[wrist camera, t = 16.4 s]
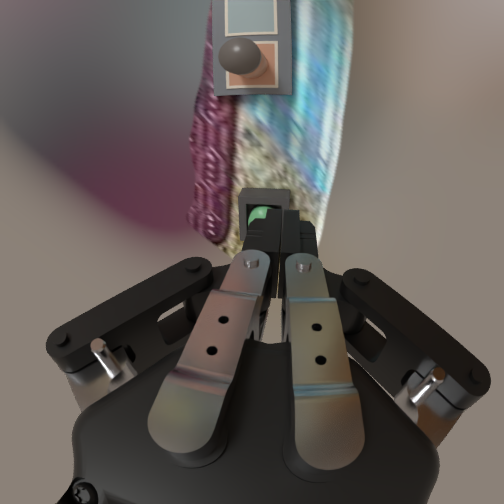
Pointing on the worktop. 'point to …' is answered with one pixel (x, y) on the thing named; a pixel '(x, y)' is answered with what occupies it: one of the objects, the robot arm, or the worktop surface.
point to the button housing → (257, 197)
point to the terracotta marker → (242, 58)
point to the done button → (259, 212)
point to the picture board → (263, 35)
